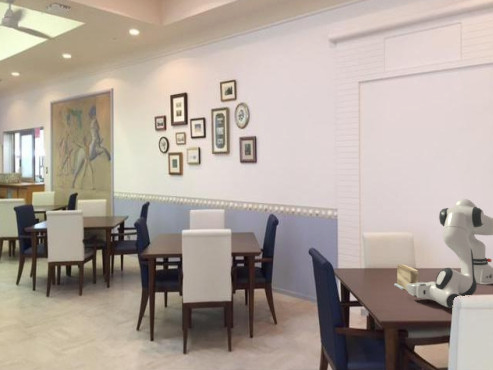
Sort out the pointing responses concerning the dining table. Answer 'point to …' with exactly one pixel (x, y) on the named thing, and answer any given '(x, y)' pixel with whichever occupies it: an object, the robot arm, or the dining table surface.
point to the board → (406, 275)
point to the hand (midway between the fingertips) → (418, 283)
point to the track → (399, 286)
